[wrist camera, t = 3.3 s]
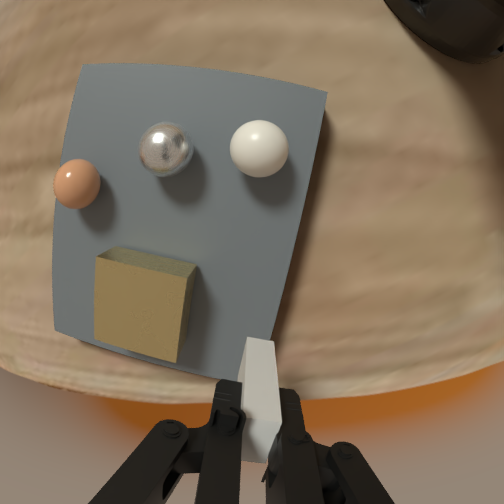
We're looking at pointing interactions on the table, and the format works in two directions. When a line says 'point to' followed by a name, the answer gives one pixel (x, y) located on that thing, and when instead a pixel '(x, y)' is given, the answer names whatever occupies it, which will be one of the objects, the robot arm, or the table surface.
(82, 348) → the table surface
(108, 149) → the slate plate
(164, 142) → the steel ball
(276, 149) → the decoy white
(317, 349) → the table surface
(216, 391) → the robot arm
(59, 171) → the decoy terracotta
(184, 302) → the brass cover
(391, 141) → the table surface
